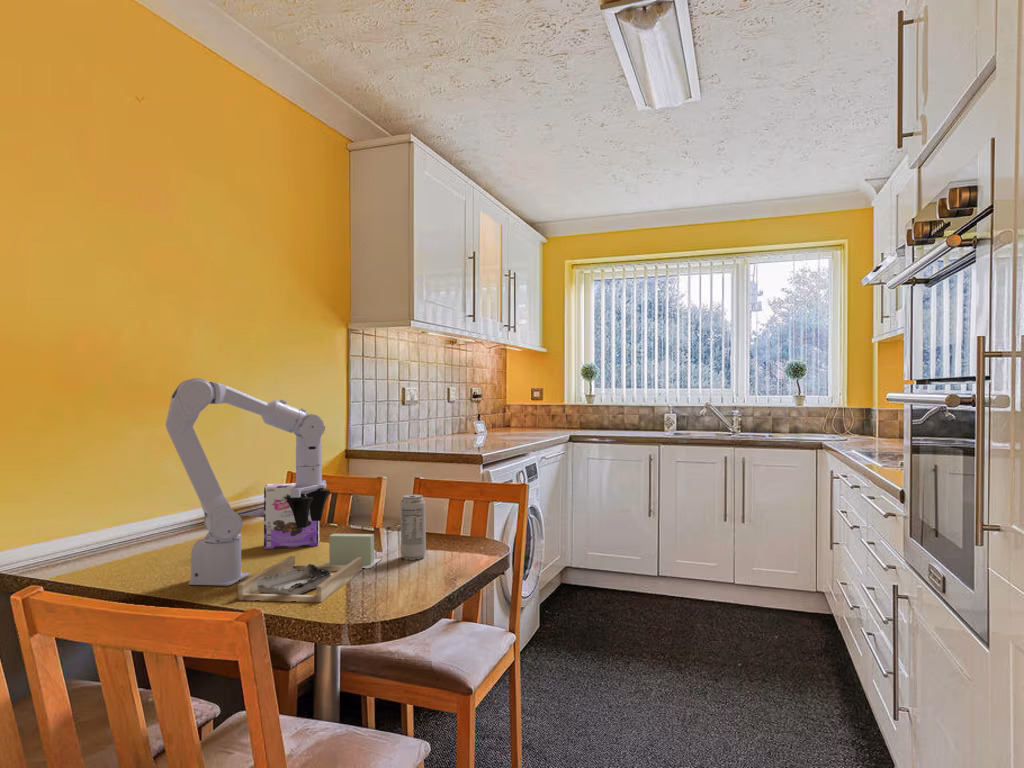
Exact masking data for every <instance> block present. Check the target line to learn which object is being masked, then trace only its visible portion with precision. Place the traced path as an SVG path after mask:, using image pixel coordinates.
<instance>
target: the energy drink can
mask: <svg viewBox="0 0 1024 768" xmlns="http://www.w3.org/2000/svg"><path fill="white" fill-rule="evenodd" d="M426 519H427V518H426V501H425V499H424V496H423V494H417V493H415V494H414V493H410V494H404V495H403V496H402V500H401V501H400V555H401V556H402V558H403V559H404V558H405V559H404V560H406V559H409V560H408V561H416V560H415V559H418V560H422V559H423V558H424V557H425V555H426V553H427V550H426V549H427V545H426V544H427V540H426V539H427V538H426V537H427V536H426V535H427V534H426V533H427V531H426V529H427V525H426ZM421 558H422V559H421Z"/></svg>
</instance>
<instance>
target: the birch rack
mask: <svg viewBox="0 0 1024 768" xmlns="http://www.w3.org/2000/svg"><path fill="white" fill-rule="evenodd" d="M314 565H315V566H316V567H318V569H325V570H333V571H332V572H335V573H330V575H331V576H330V577H329V578H328V579H326V580H325V581H323V582H322V583H321V584H319V585H318V586H316V588H315V590H316V593H315V594H316V595H315V594H311V595H310V594H299V595H288V594H270V593H257V592H259V591H258V590H259V589H258V587H257V584H256V583H257V579H258V578H259V577H271V576H273V577H274V576H275V575H276V574H277V573H280V572H281V573H282V572H283V573H284V572H286V571H288V570H290V569H293V568H294V569H298V570H297V571H301V570H303V567H304V568H306V567H307V566H308V564H296V555H289V556H288V557H286V558H284V559H282V560H281V561H278V562H276V563H275V564H273V565H271V566H269V567H268V568H266V569H264V570H263V571H261V572H258V573H256V574H254V575H253V576H251V577H249V578H247V579H246V580H244V581H242V582H240V583H239V584H237V600H238V601H255V600H260V601H261V602H262V601H263V602H291V601H296V602H299V603H323V602H324V601H325V600H327V599H328V598H329V597H330V596H331V595H333V594H334V593H335V592H337V591H338V590H339V589H340V588H342V587H343V586H345V585H346V584H347V583H348V582H349V581H351V580H352V579H354V576H355V575H356V576H357V575H358V574H360V573H361V572H362V571H363V569H362V557H357V558H356V559H355V560H353V561H352V562H350V563H349V564H347V565H346V566H341V565H324V564H314ZM361 570H362V571H361ZM360 571H361V572H360ZM359 572H360V573H359ZM307 576H309V574H308V575H307ZM356 576H355V577H356ZM350 579H351V580H350ZM255 592H256V593H255ZM260 601H259V602H260ZM300 601H301V602H300ZM322 601H323V602H322Z"/></svg>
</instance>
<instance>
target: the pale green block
mask: <svg viewBox="0 0 1024 768" xmlns="http://www.w3.org/2000/svg"><path fill="white" fill-rule="evenodd" d="M357 557H362V564H368V565H371V564H372V563H373V562H374V559H375V534H374V533H332V534H330V535H329V561H330V564H349V563H350V562H352V561H353V560H355V559H356V558H357Z"/></svg>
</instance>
